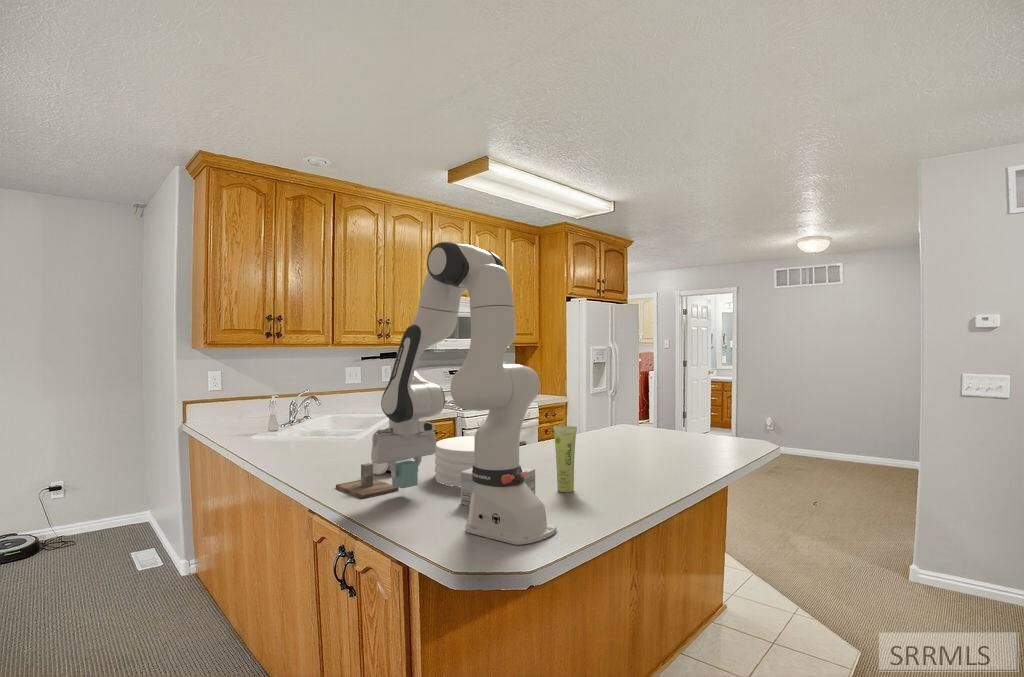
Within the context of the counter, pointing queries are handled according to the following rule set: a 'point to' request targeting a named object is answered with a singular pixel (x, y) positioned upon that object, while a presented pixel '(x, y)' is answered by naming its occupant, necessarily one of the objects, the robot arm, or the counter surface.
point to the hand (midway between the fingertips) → (404, 474)
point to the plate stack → (453, 459)
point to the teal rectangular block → (406, 474)
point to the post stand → (366, 484)
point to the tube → (565, 456)
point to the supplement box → (469, 483)
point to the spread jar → (382, 468)
